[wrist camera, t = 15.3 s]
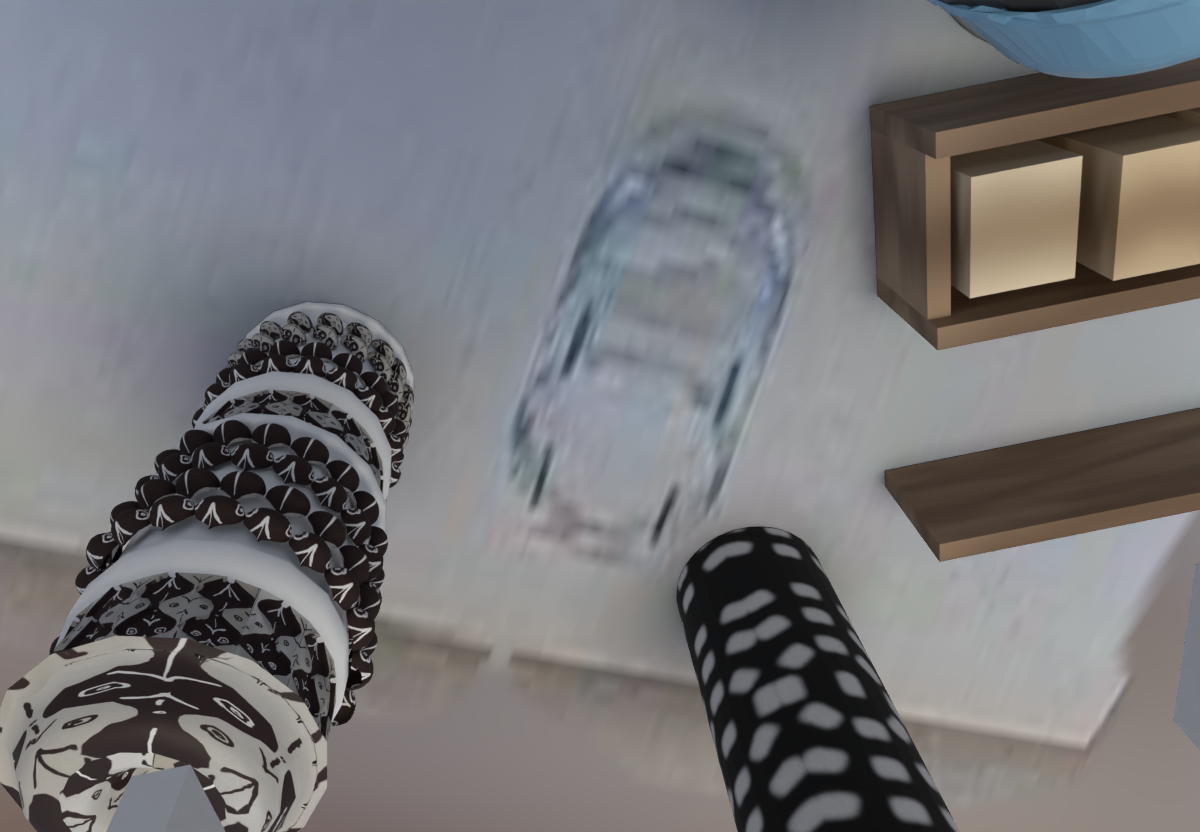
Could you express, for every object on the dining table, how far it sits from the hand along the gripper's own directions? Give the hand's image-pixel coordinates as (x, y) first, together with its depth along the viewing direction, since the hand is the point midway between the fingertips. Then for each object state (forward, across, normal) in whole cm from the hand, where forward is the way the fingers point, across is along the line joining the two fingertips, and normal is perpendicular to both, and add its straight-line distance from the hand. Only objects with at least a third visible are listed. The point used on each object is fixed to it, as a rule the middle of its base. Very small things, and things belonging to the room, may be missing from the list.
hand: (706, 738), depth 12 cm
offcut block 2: (+33, +23, -4) cm, 40 cm away
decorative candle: (+33, -13, -7) cm, 36 cm away
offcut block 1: (+33, +18, -4) cm, 37 cm away
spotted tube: (+33, +6, -24) cm, 41 cm away
